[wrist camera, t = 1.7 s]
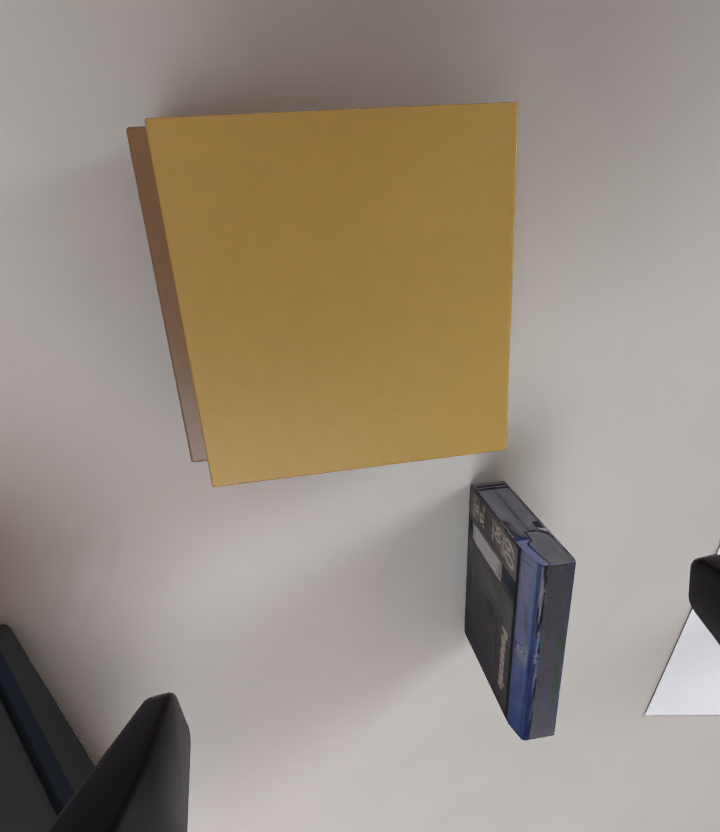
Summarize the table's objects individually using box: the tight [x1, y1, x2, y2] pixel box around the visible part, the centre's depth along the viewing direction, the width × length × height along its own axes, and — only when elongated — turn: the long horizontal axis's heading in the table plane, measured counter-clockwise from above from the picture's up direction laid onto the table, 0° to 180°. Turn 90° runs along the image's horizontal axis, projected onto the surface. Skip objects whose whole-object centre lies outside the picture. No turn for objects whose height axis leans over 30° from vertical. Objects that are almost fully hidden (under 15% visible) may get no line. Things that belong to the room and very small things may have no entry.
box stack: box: [126, 102, 518, 487], centre depth 17 cm, size 11×10×6 cm
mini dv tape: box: [465, 481, 576, 740], centre depth 22 cm, size 8×2×6 cm, turn 2°
